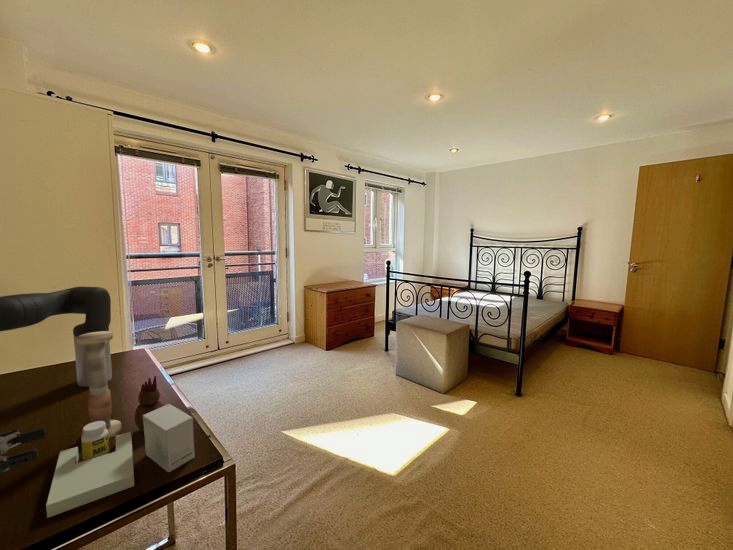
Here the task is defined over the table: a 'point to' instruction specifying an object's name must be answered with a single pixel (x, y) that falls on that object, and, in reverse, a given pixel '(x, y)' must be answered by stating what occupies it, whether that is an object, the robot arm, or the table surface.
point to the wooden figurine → (147, 402)
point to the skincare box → (169, 437)
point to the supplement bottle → (95, 440)
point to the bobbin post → (98, 380)
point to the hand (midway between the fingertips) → (41, 442)
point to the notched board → (90, 476)
